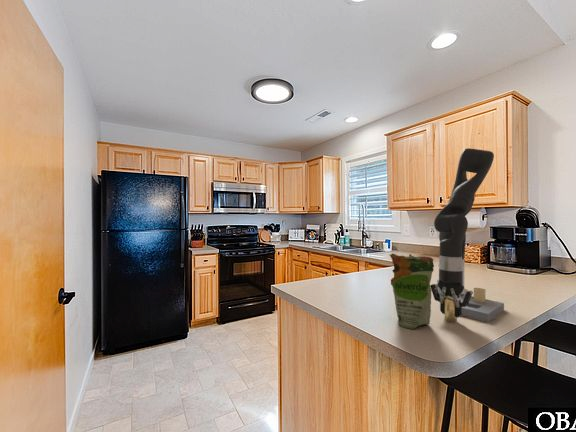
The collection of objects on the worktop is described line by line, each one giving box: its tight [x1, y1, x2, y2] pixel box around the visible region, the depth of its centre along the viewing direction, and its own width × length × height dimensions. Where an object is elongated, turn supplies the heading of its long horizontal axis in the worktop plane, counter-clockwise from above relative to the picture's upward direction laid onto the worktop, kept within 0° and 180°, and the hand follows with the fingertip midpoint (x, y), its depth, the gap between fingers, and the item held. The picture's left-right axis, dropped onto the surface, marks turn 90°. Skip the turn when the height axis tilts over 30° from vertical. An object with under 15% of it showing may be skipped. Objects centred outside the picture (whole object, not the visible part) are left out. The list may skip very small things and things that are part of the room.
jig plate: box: [460, 287, 505, 323], centre depth 108 cm, size 14×20×8 cm
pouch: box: [389, 253, 435, 330], centre depth 94 cm, size 11×12×25 cm
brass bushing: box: [443, 297, 458, 324], centre depth 98 cm, size 4×4×8 cm
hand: (450, 314), depth 98 cm, fingers closed on brass bushing, 4 cm apart
